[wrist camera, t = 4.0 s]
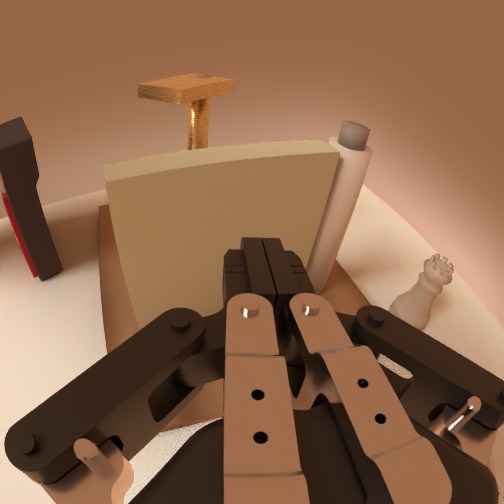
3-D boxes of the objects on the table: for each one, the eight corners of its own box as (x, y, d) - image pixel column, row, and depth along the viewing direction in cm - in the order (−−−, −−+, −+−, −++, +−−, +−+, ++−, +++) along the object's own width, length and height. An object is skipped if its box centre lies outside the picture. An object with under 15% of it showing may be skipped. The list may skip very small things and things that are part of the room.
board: (127, 438, 17) (123, 434, 16) (100, 214, 36) (99, 206, 35) (391, 346, 26) (397, 339, 25) (269, 189, 44) (270, 182, 44)
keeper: (182, 264, 31) (181, 89, 19) (148, 244, 33) (137, 84, 21) (221, 231, 36) (234, 79, 24) (188, 215, 37) (192, 73, 26)
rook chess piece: (402, 296, 31) (434, 242, 26) (429, 323, 28) (467, 270, 23) (379, 313, 29) (414, 255, 24) (408, 343, 26) (451, 288, 21)
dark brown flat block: (19, 235, 31) (-12, 128, 21) (45, 221, 33) (21, 115, 24) (36, 286, 26) (-13, 155, 16) (68, 268, 28) (31, 136, 18)
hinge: (311, 267, 31) (355, 119, 20) (330, 289, 29) (386, 136, 18) (136, 320, 23) (99, 134, 13) (146, 352, 21) (102, 157, 11)
